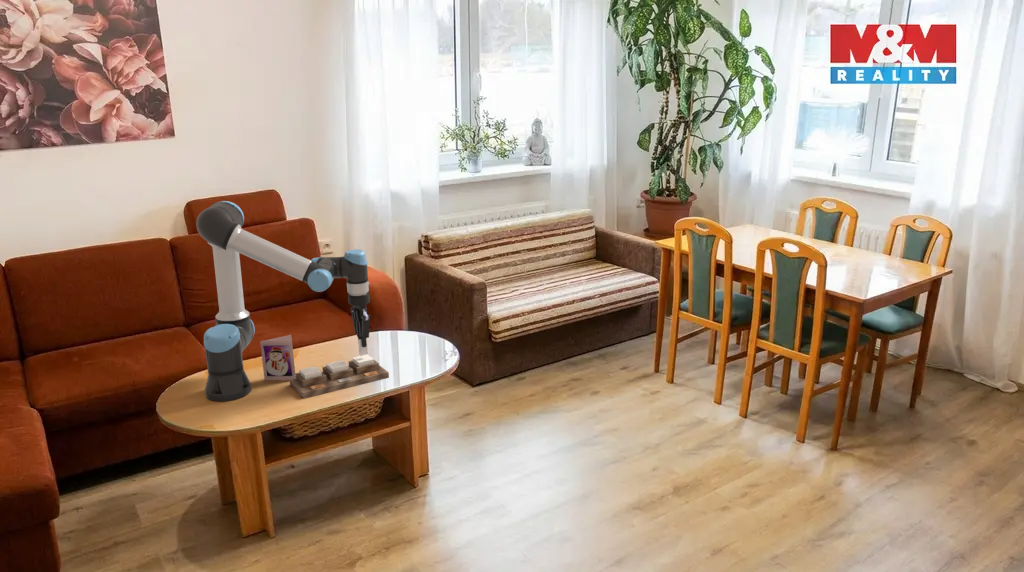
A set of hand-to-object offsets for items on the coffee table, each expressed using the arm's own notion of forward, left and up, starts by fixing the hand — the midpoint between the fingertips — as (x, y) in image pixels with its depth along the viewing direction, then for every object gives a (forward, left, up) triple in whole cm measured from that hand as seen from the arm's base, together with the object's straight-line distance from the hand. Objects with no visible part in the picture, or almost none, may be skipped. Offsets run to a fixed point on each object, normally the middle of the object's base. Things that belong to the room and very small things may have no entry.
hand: (363, 354), depth 290 cm
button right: (0, 0, -4) cm, 4 cm away
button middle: (-10, 0, -4) cm, 11 cm away
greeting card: (-26, +15, -8) cm, 31 cm away
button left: (-20, 0, -4) cm, 21 cm away
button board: (-10, -1, -8) cm, 13 cm away
